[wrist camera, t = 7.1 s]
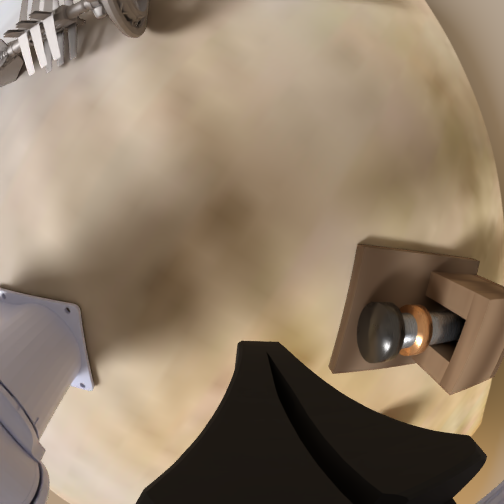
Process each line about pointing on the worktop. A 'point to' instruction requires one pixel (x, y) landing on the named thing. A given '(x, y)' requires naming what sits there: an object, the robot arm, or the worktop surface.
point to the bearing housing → (433, 299)
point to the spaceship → (62, 31)
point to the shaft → (403, 330)
